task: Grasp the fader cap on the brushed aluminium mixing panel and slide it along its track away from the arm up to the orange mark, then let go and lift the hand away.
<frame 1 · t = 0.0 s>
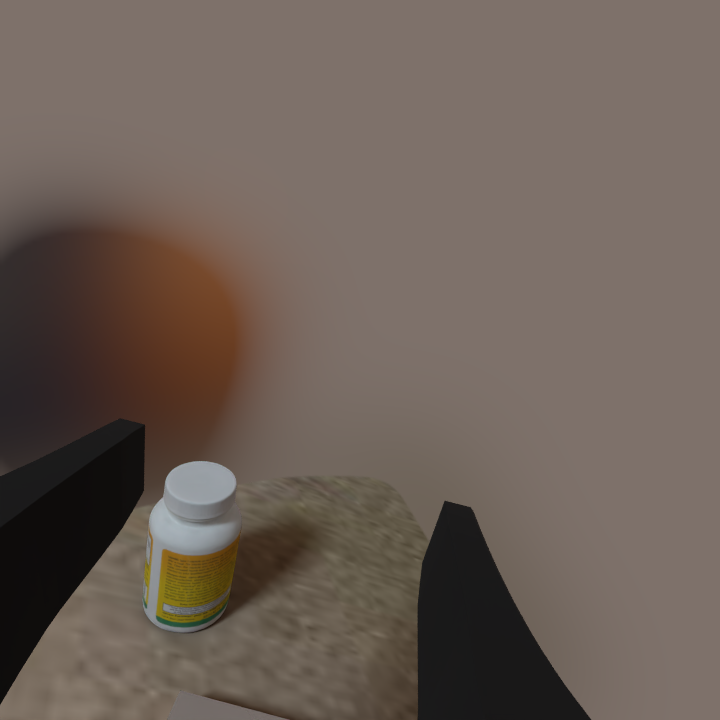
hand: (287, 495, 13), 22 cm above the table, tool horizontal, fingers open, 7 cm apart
supplement bottle: (186, 603, 35), on the table
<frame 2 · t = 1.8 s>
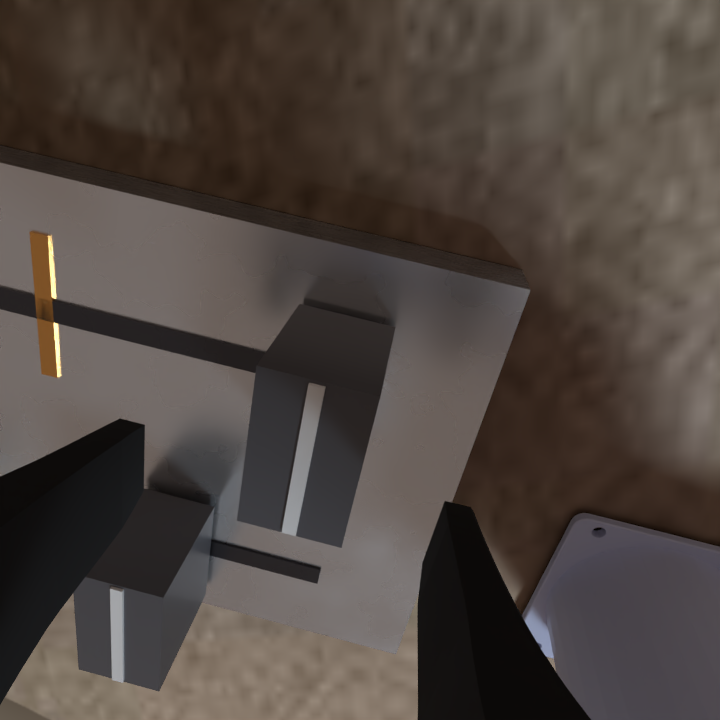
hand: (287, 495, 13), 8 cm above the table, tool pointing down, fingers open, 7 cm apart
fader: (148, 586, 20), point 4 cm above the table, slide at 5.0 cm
fader panel: (229, 417, 22), on the table
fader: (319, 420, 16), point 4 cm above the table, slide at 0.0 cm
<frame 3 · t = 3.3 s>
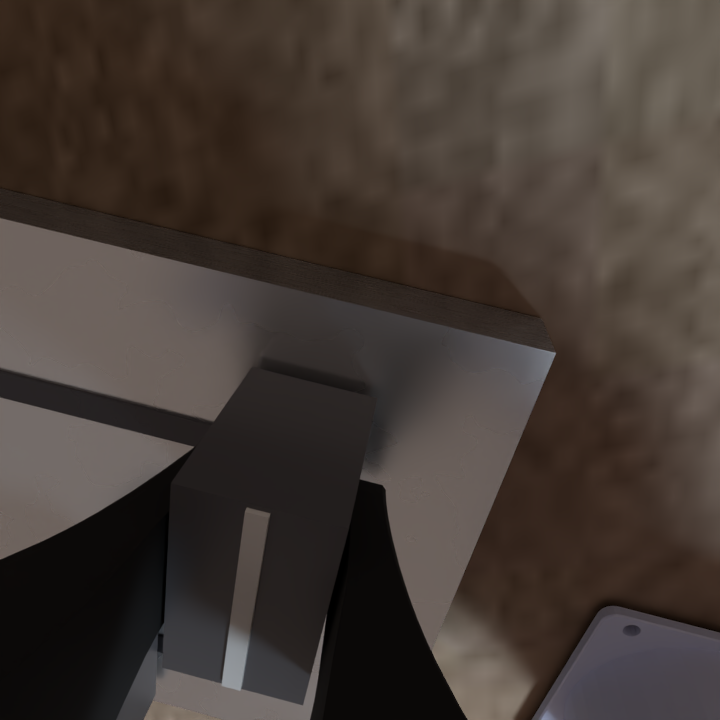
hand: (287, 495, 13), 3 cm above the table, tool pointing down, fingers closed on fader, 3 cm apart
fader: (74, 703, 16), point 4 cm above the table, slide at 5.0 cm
fader panel: (179, 487, 18), on the table
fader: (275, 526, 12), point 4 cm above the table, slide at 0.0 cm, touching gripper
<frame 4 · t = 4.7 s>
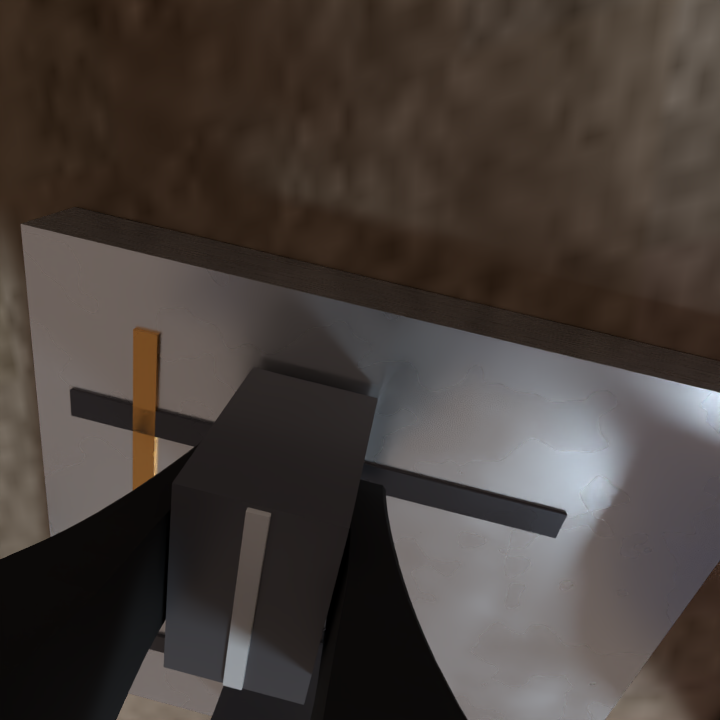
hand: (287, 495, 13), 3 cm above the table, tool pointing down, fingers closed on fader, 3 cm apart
fader panel: (351, 531, 18), on the table
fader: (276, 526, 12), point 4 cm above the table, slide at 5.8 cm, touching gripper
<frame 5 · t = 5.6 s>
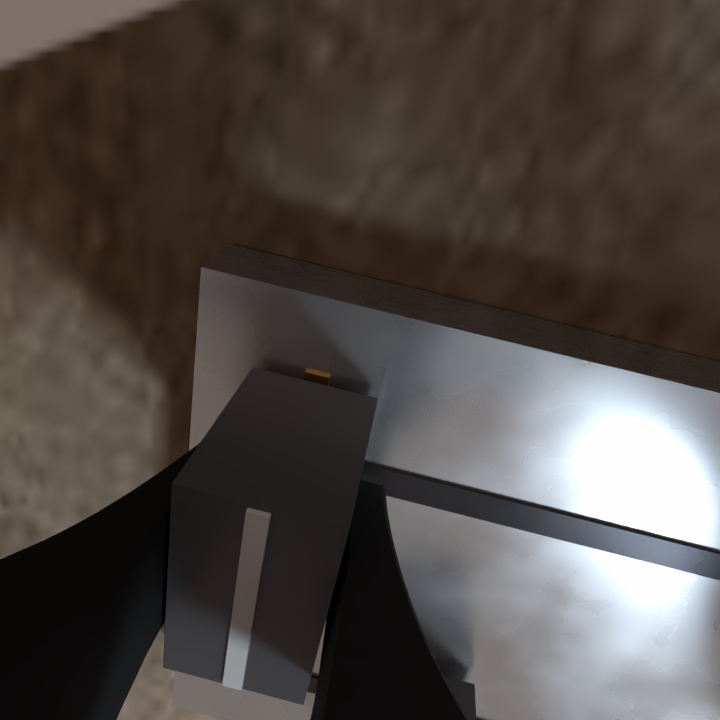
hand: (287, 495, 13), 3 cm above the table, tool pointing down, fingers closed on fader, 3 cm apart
fader panel: (478, 564, 17), on the table
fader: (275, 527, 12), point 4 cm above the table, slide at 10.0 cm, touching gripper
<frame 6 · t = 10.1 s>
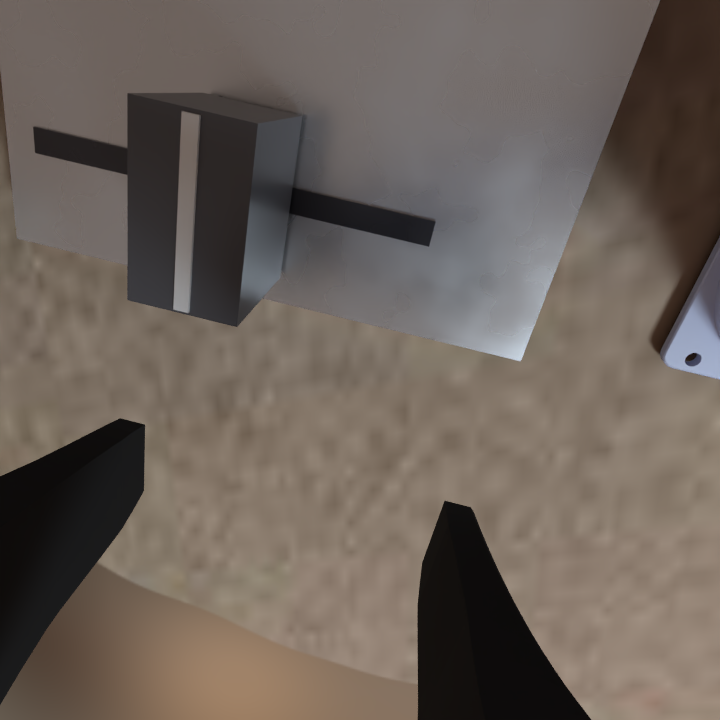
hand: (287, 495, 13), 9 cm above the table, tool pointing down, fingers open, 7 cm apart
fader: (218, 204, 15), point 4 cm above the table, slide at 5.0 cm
fader panel: (316, 20, 17), on the table
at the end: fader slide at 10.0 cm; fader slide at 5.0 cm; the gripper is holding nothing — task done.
